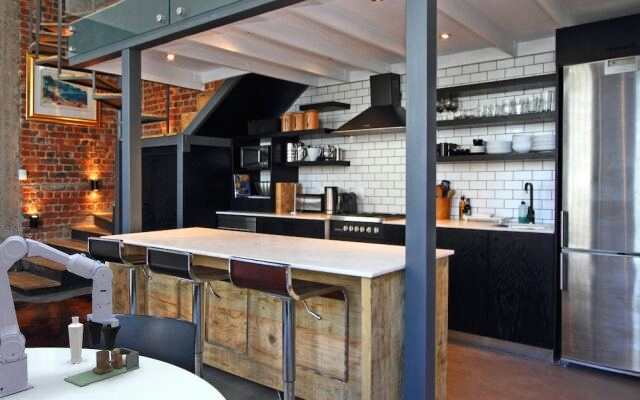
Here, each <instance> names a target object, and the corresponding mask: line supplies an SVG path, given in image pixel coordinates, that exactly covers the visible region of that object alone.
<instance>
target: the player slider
mask: <svg viewBox="0 0 640 400" xmlns="http://www.w3.org/2000/svg"><path fill="white" fill-rule="evenodd" d="M119 353H120V350H119V348H118V347H116V348H115V347H114V348H113V354H111V352H110V350H109V349H108V350H107V349H101V350H98V351H95V357H96V358H95V360H96V361H95V363H96V365H95V366H96V367H93V368H92V370H93V372H94V373H97V374H104V373H107V372H110V371H113V367H115V368H118V369H119V368H122V355H120V354H119ZM110 364H111V366H110Z"/></svg>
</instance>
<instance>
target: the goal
mask: <svg viewBox="0 0 640 400" xmlns="http://www.w3.org/2000/svg"><path fill="white" fill-rule="evenodd" d="M118 349H119V350H120V353H119V354H120V355H126V370H129V369H132V368H135V367H138V369H140V353H139V351H136V350H132V349H129V348H125V347H120V348H118ZM113 350H114V349H113ZM113 350H110V355H111V354H113Z"/></svg>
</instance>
